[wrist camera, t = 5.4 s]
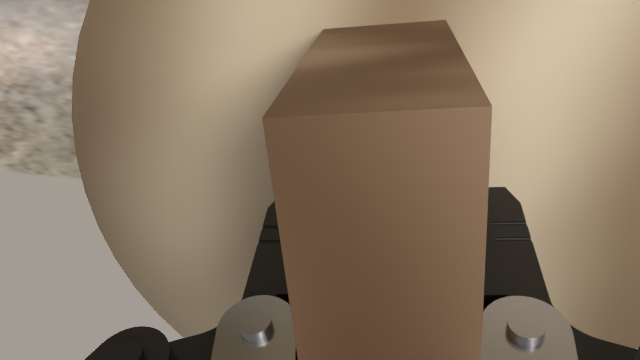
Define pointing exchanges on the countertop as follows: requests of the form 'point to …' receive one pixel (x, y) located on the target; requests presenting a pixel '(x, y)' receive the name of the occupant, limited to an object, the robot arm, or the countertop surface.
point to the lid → (365, 159)
